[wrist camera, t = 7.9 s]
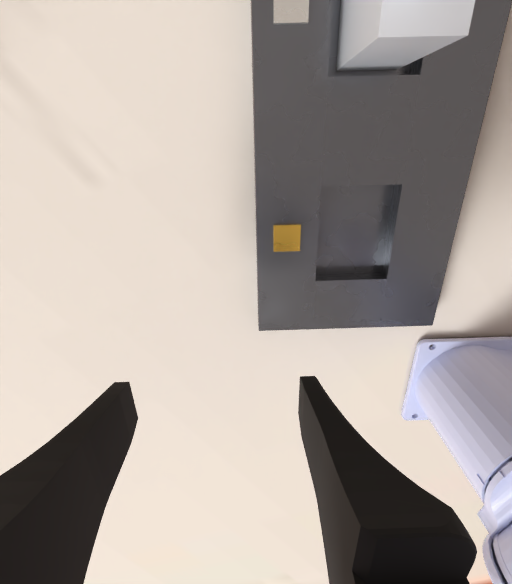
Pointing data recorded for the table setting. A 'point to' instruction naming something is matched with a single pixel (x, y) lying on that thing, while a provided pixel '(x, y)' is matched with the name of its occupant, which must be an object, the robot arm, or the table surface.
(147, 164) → the table surface
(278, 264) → the panel
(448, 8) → the plug
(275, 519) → the table surface
